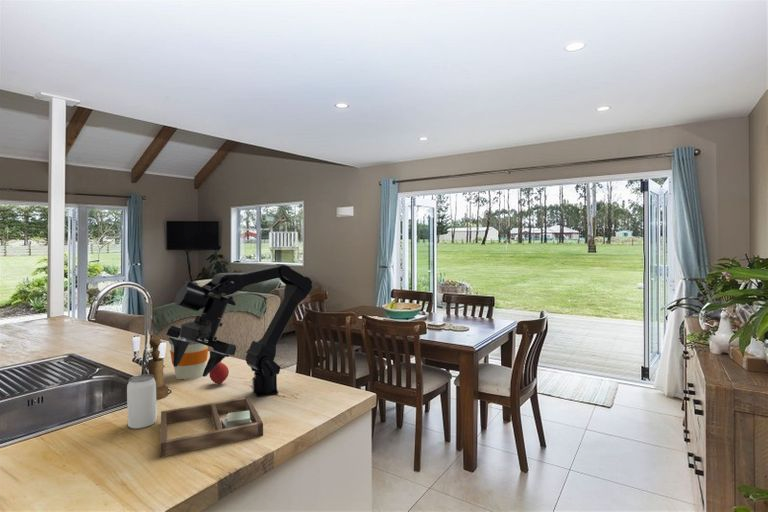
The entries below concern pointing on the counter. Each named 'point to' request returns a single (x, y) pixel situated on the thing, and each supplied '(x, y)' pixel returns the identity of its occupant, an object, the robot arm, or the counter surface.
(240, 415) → the offcut stack
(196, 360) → the reusable coffee cup
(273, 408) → the counter surface
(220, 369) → the red pomegranate
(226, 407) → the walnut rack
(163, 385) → the wooden pepper mill
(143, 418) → the can
